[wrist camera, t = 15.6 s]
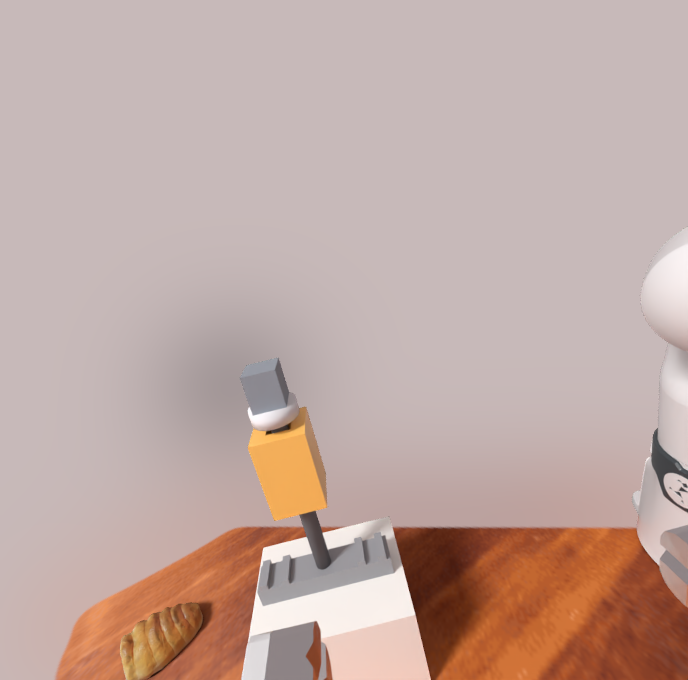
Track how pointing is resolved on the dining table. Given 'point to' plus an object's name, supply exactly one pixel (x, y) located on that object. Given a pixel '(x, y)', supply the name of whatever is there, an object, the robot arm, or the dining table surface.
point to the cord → (279, 430)
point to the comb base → (346, 602)
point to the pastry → (159, 640)
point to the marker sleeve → (290, 468)
